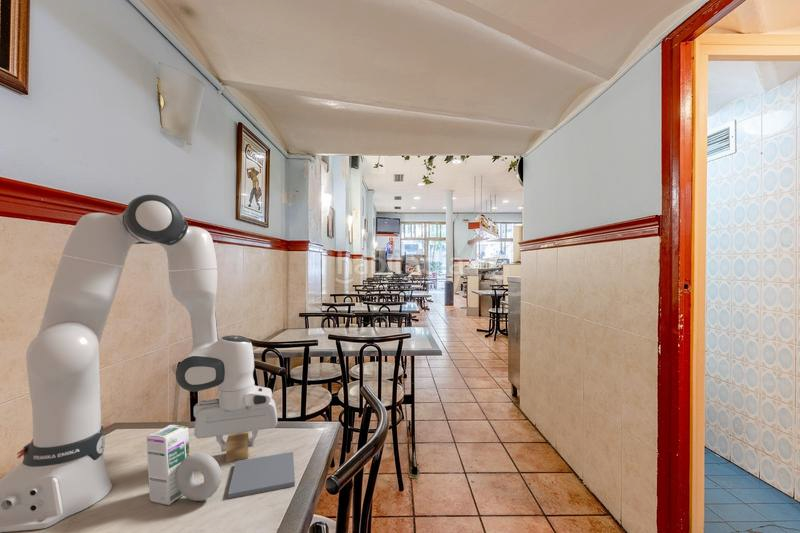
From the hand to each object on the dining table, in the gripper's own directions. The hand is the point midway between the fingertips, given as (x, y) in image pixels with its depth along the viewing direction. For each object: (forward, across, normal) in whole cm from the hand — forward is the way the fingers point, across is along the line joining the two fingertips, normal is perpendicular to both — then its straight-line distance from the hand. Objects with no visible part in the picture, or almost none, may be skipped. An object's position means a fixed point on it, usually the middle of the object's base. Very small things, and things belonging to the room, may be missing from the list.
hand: (238, 448), depth 98 cm
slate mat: (+2, +7, -12) cm, 14 cm away
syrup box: (+2, -12, -14) cm, 19 cm away
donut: (+2, -6, -17) cm, 18 cm away
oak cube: (+2, 0, 0) cm, 2 cm away
